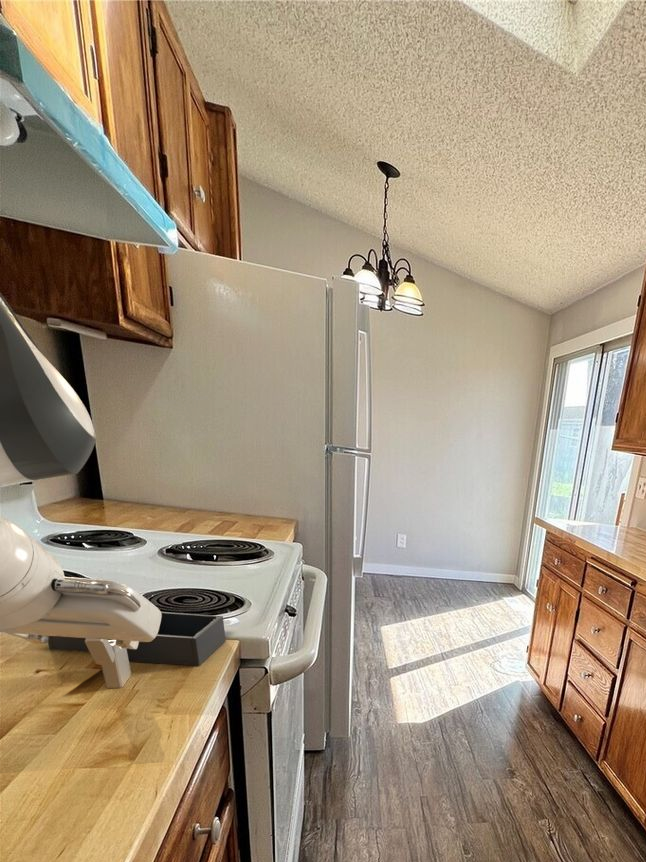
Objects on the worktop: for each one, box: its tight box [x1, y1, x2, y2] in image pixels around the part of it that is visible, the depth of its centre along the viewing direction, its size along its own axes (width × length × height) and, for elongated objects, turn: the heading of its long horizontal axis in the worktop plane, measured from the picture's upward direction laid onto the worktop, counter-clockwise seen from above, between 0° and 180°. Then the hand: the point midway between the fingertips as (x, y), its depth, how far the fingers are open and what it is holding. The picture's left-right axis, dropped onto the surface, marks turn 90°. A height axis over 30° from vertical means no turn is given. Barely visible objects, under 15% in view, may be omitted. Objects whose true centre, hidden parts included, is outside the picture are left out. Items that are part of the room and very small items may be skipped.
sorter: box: [47, 611, 227, 667], centre depth 79 cm, size 19×10×4 cm, turn 95°
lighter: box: [85, 638, 132, 689], centre depth 68 cm, size 7×2×8 cm, turn 18°
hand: (87, 640), depth 63 cm, fingers open, 8 cm apart
